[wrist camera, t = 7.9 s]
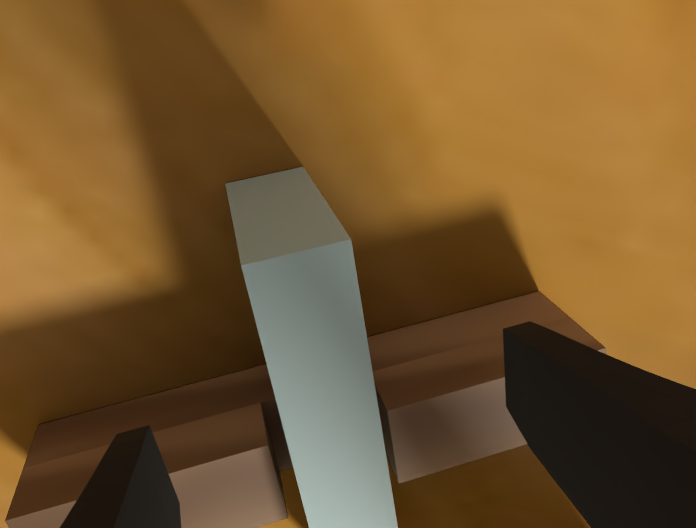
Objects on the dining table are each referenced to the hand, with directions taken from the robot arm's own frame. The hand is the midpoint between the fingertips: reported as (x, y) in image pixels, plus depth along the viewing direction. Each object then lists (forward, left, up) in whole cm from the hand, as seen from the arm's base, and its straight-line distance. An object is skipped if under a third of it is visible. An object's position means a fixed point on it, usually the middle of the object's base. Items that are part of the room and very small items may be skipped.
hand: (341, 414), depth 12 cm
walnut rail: (-5, 0, -8) cm, 10 cm away
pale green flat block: (-5, 0, -8) cm, 10 cm away
